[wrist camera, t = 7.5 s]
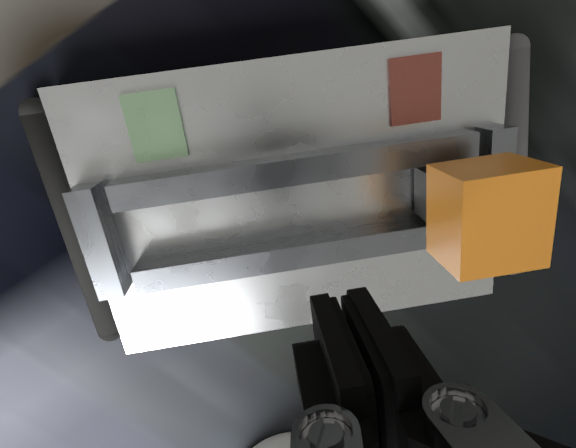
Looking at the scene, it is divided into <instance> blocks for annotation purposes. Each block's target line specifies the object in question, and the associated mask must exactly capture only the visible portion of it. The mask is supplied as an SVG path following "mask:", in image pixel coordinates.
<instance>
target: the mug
mask: <svg viewBox="0 0 576 448" xmlns="http://www.w3.org/2000/svg"><path fill="white" fill-rule="evenodd" d="M290 439H291V432H285V433H281V434H277V435H274V436H271V437H269V438H267V439H265V440H263V441H261V442H260V443H258V444H257V445H255V446H254V447H253V448H290Z"/></svg>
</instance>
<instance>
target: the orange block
mask: <svg viewBox="0 0 576 448" xmlns="http://www.w3.org/2000/svg"><path fill="white" fill-rule="evenodd" d="M562 168H563V166H559V165H555V164H552V163H548V162H544V161H541V160H537V159H533V158H530V157H526V156H522V155H519V154H515V153H511V152H505V153H498V154H492V155H485V156H478V157H472V158H465V159H458V160H451V161H445V162H438V163H431V164H426V166H425V167H418V168H414V213H415V214H417V215H418V216H419V217H421V218H422V219H423V220H424V221H426V251H427V252H428V253H429V254H430V255H432V256H433V257H434V258H435V259H436V260H437V261H438V262H439V263H440V264H441V265H442V266H443V267H444V268H445V269H446V270H447V271H448V272H449V273H450V274H452V275H453V276H454V277H455V278H456V279H457V280H458V281H459V282H466V281H472V280H478V279H484V278H491V277H497V276H503V275H509V274H515V273H521V272H527V271H533V270H539V269H545V268H550V263H551V255H552V247H553V239H554V231H555V223H556V215H557V207H558V199H559V192H560V184H561V176H562Z"/></svg>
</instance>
